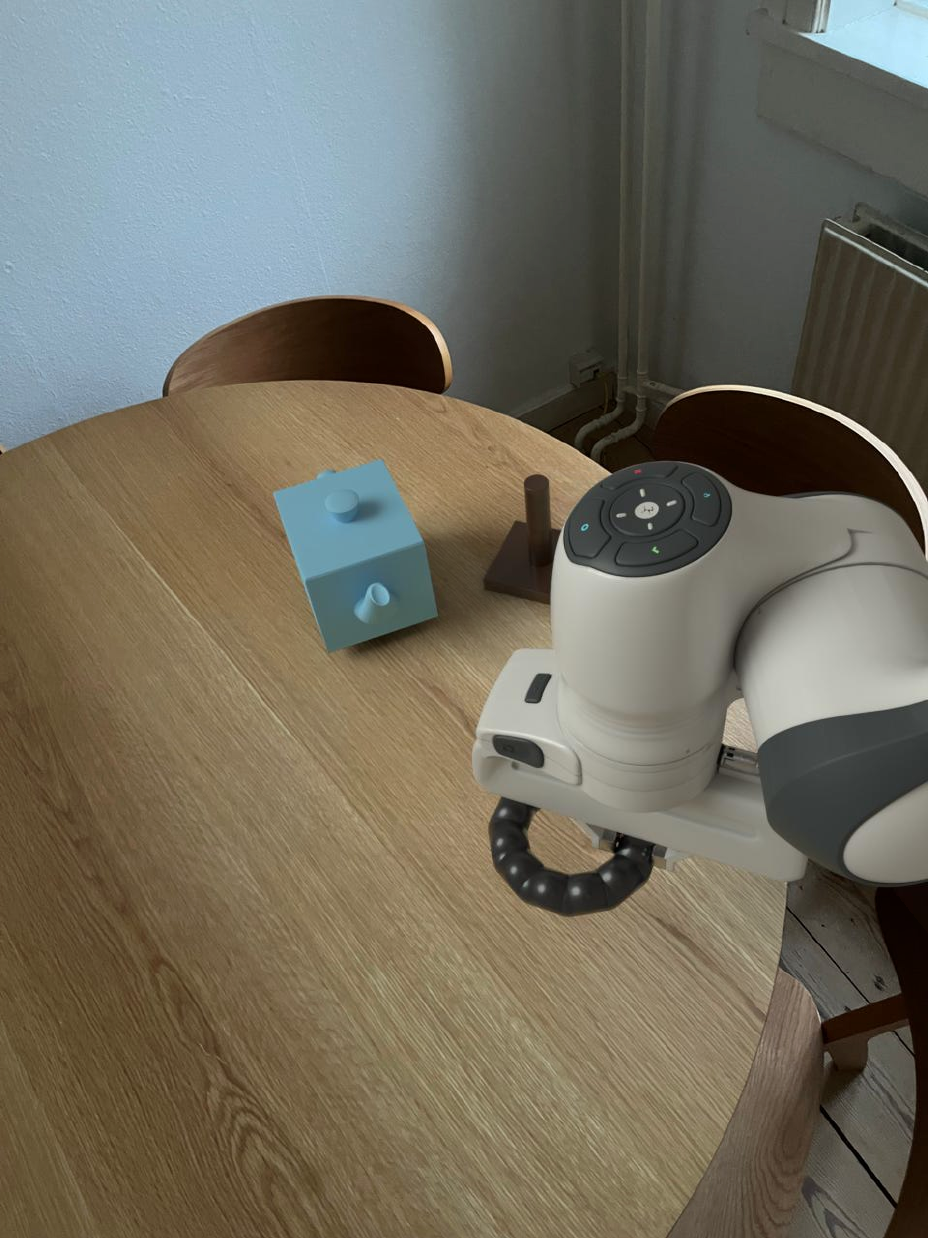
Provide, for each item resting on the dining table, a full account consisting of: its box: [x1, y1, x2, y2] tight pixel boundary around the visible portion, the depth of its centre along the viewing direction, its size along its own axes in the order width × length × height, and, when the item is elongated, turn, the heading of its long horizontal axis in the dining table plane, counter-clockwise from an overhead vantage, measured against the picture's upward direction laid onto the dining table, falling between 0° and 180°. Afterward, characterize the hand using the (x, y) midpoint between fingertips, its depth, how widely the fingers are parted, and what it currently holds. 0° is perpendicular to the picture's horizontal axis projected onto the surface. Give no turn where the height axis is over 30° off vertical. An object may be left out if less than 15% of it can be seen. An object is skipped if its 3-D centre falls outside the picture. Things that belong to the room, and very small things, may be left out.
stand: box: [482, 473, 562, 606], centre depth 94 cm, size 9×9×12 cm
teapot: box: [272, 458, 439, 654], centre depth 92 cm, size 22×11×14 cm, turn 20°
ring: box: [487, 796, 656, 918], centre depth 64 cm, size 11×11×3 cm
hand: (635, 850), depth 63 cm, fingers closed on ring, 2 cm apart
